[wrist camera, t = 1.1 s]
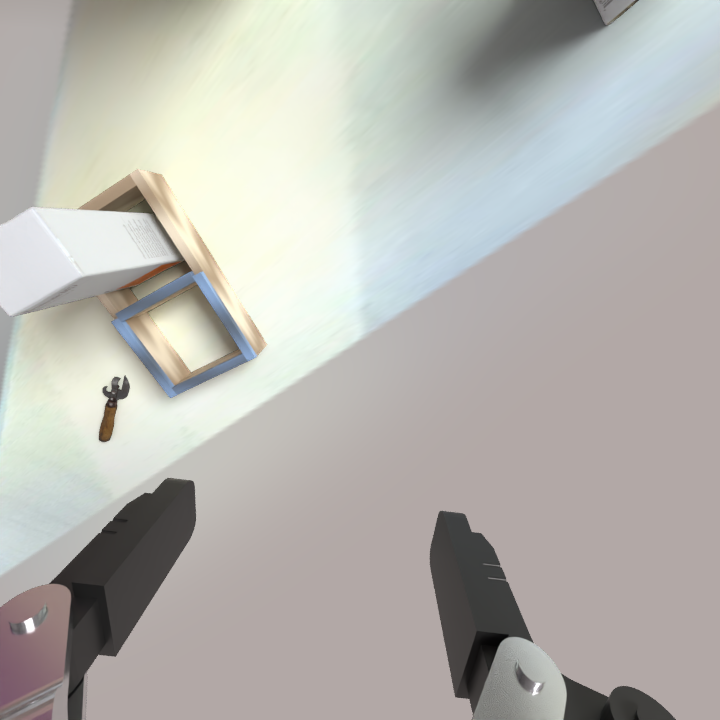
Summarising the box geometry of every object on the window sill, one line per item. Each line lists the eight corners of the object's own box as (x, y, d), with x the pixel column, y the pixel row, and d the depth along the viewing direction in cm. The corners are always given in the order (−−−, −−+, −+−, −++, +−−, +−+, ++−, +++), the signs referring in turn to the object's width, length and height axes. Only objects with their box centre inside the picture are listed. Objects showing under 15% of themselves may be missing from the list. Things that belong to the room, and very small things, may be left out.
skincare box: (139, 286, 31) (7, 320, 20) (108, 242, 29) (-52, 252, 18) (192, 258, 30) (83, 278, 19) (163, 211, 28) (27, 202, 17)
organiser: (77, 229, 29) (39, 230, 26) (161, 174, 27) (133, 167, 24) (189, 382, 34) (170, 398, 31) (267, 344, 32) (255, 357, 29)
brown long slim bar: (112, 438, 38) (105, 444, 37) (92, 429, 38) (84, 434, 36) (136, 377, 35) (128, 382, 34) (114, 366, 35) (106, 371, 33)
